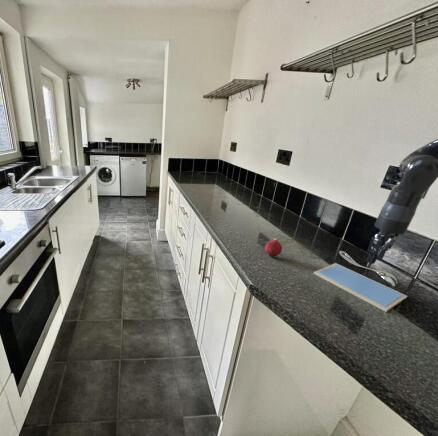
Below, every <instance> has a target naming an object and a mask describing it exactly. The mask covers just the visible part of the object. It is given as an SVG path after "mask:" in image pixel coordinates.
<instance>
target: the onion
mask: <svg viewBox="0 0 438 436" xmlns="http://www.w3.org/2000/svg"><path fill="white" fill-rule="evenodd" d="M282 250H283V247H282V245H281V243H280V242H279V239H278V238H274V239H273V240H269V241H267V243H266V244H265V246H264V252H265V253H266V254H267V256H269V257H271V258H273V257H277V256H279V255H281V253H282Z"/></svg>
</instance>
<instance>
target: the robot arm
mask: <svg viewBox="0 0 438 436" xmlns="http://www.w3.org/2000/svg"><path fill="white" fill-rule="evenodd" d="M398 166H399V167H398V170H399V171H400V173H402V174H403V177H402V178H401V180H400V182H399V184H396V185H394V186H393V187H392V188H391V190H390V192H389V194H388V196H387V199H386V201H385V203H384V204H383V206H382V207H381V210H380V211H379V214H378V216H377V218H376V219H375V220H376V221H375V223H374V226H373V227H374V228H375V229H377V230H379V232H377V233H376V234H375V235H374V236H372V237H371V239H370V242H369V243H368V248H367V252H368V255H367V257H366V259H365V262H366V263H369V264H371V265H374V264H375V263H376V261H379V262H381V261H382V260H383V259H384V257H385V255H386V253H387V252H388V251H389V250H391V249H392V247H393V245H394V243H395V242H396V240H397V239H398V237H399V235H403V234H405V233H406V232H407V230H408V229H409V226H410V225H411V222H412V221H413V219H414V216H415V215H416V213H417V209H418V207H419V205H420V203H421V201H422V199H423V197H424V195H425V193H426V192H427V191H428V190H429V189H430V187H432V185H433V184H434V183H435V182H436V180H437V179H438V138H436V139H434V140H433V141H430V142H429V143H427V144H424V145H423V146H421V147H419V148H418V149H416V150H414V151H412V152H410V153H409V154H408V155H407V156H405V157H404V158H403V159H401V162H400V163H399V165H398Z"/></svg>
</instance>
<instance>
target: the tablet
mask: <svg viewBox="0 0 438 436" xmlns="http://www.w3.org/2000/svg"><path fill="white" fill-rule="evenodd" d="M313 275H315V276H317V277H318V278H321V279H322V280H325V281H327V282H328V283H330V284H332V285H334V286H336V287H338V288H339V289H342V290H343V291H345V292H347V293H349V294H351V295H353V296H355V297H357V298H358V299H360V300H362V301H364V302H366V303H368V304H370V305H372V306H374V307H376V308H378V309H379V310H381V311H383V312H385V313H388V312H389V311H391V310H392V309H393V308H394V307H396V306H398V305H400V304H401V303H402V302H404V301H405V300H407V299H408V295H407V294H404V293H402V292H400V291H397V290H395V289H393V288H391V287H389V286H387V285H384V284H382V283H381V282H378V281H377V280H376V281H375V280H373V279H372V278H369V277H367V276H365V275H363V274H361V273H358V272H356V271H355V270H352V269H350V268H347V267H345V266H343V265H341V264H339V263H337V262H335V263H332V264H330V265H327V266H325V267H323V268H319V269H318V270H315V271H313Z"/></svg>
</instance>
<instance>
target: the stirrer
mask: <svg viewBox="0 0 438 436" xmlns="http://www.w3.org/2000/svg"><path fill="white" fill-rule="evenodd" d="M338 254H339V256H340V257H342V259H344V260H345V261H347V262H348V263H350V264H352V265H354V266H356V267H358V268H361V269H366V270H369V271H372V272H374V273H377V274H378V276H379V277H381V279H383V280H384V281H386V282H387V283H388V284H389V285H390V286H392V287H397V285H398V282H399V281H398V279H397V278H396V276H395V275H394V274H392V273H390V272H387V271H383V270H377V269H374V268H369V267H366V266H363V265H361V264H359V263H358V262H356V261H355V260H354V259H353V258H352V257H351V256H350V255H349V254H348V253H347V252H346V251H343V250H339V251H338Z"/></svg>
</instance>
